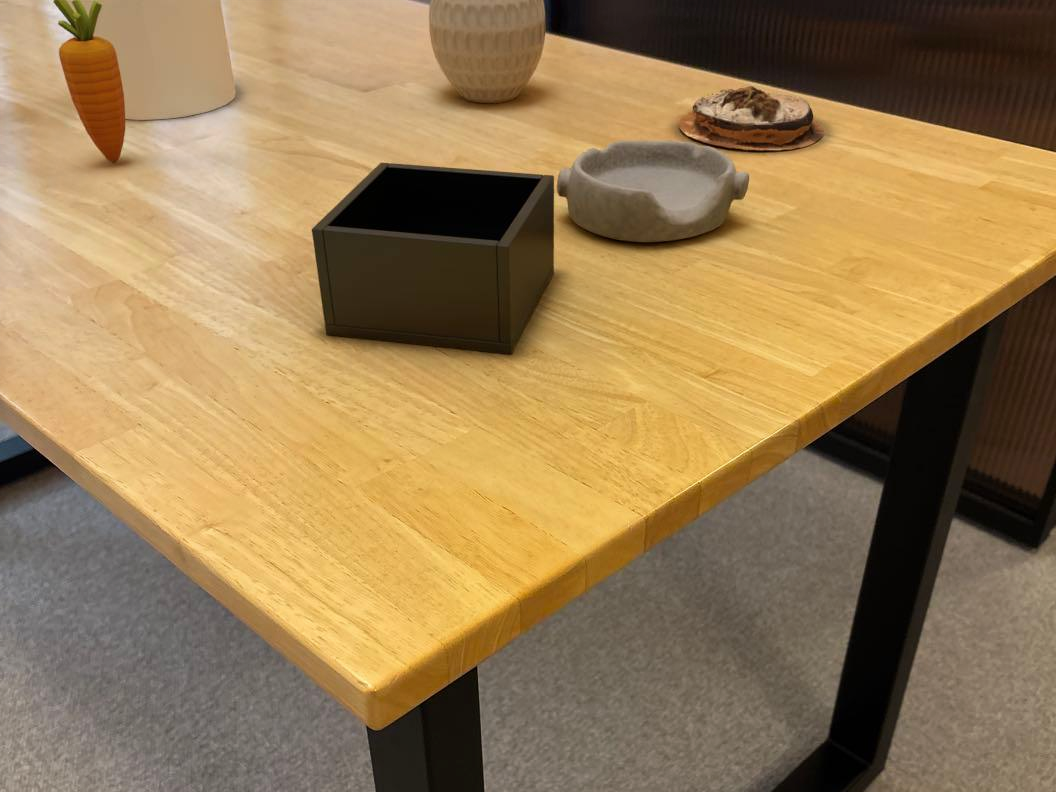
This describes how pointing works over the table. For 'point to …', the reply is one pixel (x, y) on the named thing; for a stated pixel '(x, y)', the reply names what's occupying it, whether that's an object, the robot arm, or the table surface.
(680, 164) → the dish
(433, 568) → the table surface
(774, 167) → the table surface
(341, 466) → the table surface
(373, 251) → the black open box
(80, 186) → the table surface
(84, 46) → the carrot
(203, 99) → the canister
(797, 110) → the cake
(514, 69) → the vase
